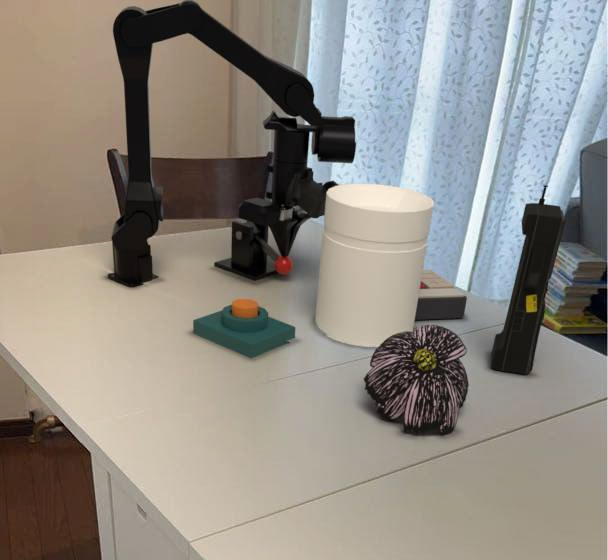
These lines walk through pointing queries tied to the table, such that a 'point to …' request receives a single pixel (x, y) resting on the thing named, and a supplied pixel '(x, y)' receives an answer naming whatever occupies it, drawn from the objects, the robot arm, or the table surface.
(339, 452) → the table surface
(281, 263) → the switch lever
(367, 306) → the canister
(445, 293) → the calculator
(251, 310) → the button
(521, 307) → the portable radio
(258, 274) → the switch bracket
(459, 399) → the decorative flower
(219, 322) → the button block
